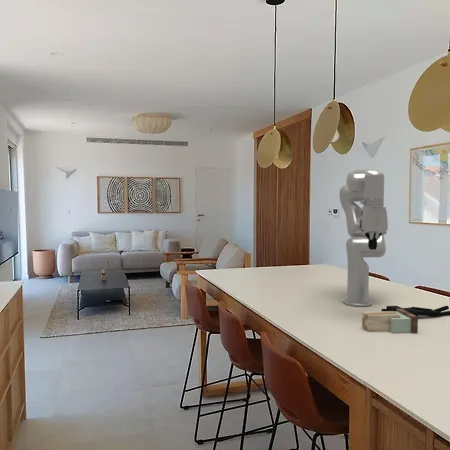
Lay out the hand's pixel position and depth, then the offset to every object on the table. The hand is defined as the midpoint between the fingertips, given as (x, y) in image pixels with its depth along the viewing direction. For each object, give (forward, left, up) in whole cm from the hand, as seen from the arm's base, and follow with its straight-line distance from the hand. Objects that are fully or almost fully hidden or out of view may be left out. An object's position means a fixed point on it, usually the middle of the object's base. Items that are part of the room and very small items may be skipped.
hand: (372, 249), depth 170 cm
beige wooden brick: (+14, -3, -28) cm, 32 cm away
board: (+12, -6, -29) cm, 32 cm away
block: (+14, +3, -28) cm, 32 cm away
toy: (-4, +23, -30) cm, 38 cm away
